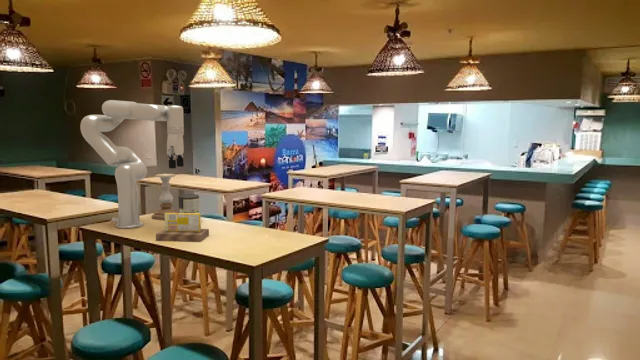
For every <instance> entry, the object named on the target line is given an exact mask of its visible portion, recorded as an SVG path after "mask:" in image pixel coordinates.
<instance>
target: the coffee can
mask: <svg viewBox="0 0 640 360" xmlns="http://www.w3.org/2000/svg"><path fill="white" fill-rule="evenodd" d="M178 212H179V213H199V214H200V194H195V193H193V194H191V193H190V194H188V193H187V194H186V193H185V194H180V195H178Z"/></svg>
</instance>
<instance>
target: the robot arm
mask: <svg viewBox="0 0 640 360" xmlns="http://www.w3.org/2000/svg"><path fill="white" fill-rule="evenodd" d="M101 112H102V113H103V114H89V115H86V116H84V117H83V118H82V120H81V121H80V127H79V128H80V129H79V130H80V133H81V135H82V137H83V138H84V140H85V141H86V142H87V143H88V145H90V146H91V148H93V149H94V151H95V152H96V153H97V154H98V156H99V157H100V158H102V160H103V161H104V162H105V163H106V164H107V165H108V166H110V167H111V166H112V167H116V168H115V171H114V177H115V181H116V187H117V202H118V203H117V205H118V207H117V208H118V217H112V218H111V223H116V224H115V227H116V228H118V229H136V228H140V227H142V226H143V225H144V222H143V221H140V195H139V193H140V192H139V187H138V183H137V182H139V181H141V180H143V179H145V178H146V177H147V174H148V169H147V167H146V165H145V163H144V162H143V161H142V160H141V159H140V158H139V157H138V155H137V153H135V152H134V151H133V150H132V149H130V148H129V147H126V146H118V145H115V144H114V142H113V141H111V139H110V138H109V137H107V136H106V135H105V134H103V133H108V132H111V131H113V130H114V129H116V127H118V126H119V125H120V124H121V123H122V122H124V120H140V121H141V120H143V121H150V122H151V121H152V122H155V121H156V122H166V126H167V127H166V128H167V131H166V132H167V133H166V134H167V139H166V155H167V158H168V169H176V168H177V167H184V158H185V157H184V151H185V150H184V149H185V148H184V147H185V146H184V137H183V136H185V135H184V134H185V128H184V127H185V126H184V107H183V106H181V105H162V104H151V103H149V104H148V103H138V102H137V101H128V100H115V99H109V100H106V101H104V102H103V104H102V105H101ZM176 157H177V158H176Z"/></svg>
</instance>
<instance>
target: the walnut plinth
mask: <svg viewBox="0 0 640 360" xmlns="http://www.w3.org/2000/svg"><path fill="white" fill-rule="evenodd" d="M209 236H210V229H209V228H201V231H200V232H183V231H165V228H164V229H162V230H161V231H158V232H156V233H155V241H157V242H158V241H160V242H162V241H163V242H190V243H191V242H192V243H193V242H194V243H195V242H196V243H201V242H202V241H203V240H205V239H206V238H208V237H209Z"/></svg>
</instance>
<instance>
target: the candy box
mask: <svg viewBox="0 0 640 360" xmlns="http://www.w3.org/2000/svg"><path fill="white" fill-rule="evenodd" d="M201 218H202V216H201V213H200V212H199V213H165V220H164V229H165V231H183V232H200V231H201V229H202V228H201V227H202V226H201V224H202V223H201V222H202V221H201Z"/></svg>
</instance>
